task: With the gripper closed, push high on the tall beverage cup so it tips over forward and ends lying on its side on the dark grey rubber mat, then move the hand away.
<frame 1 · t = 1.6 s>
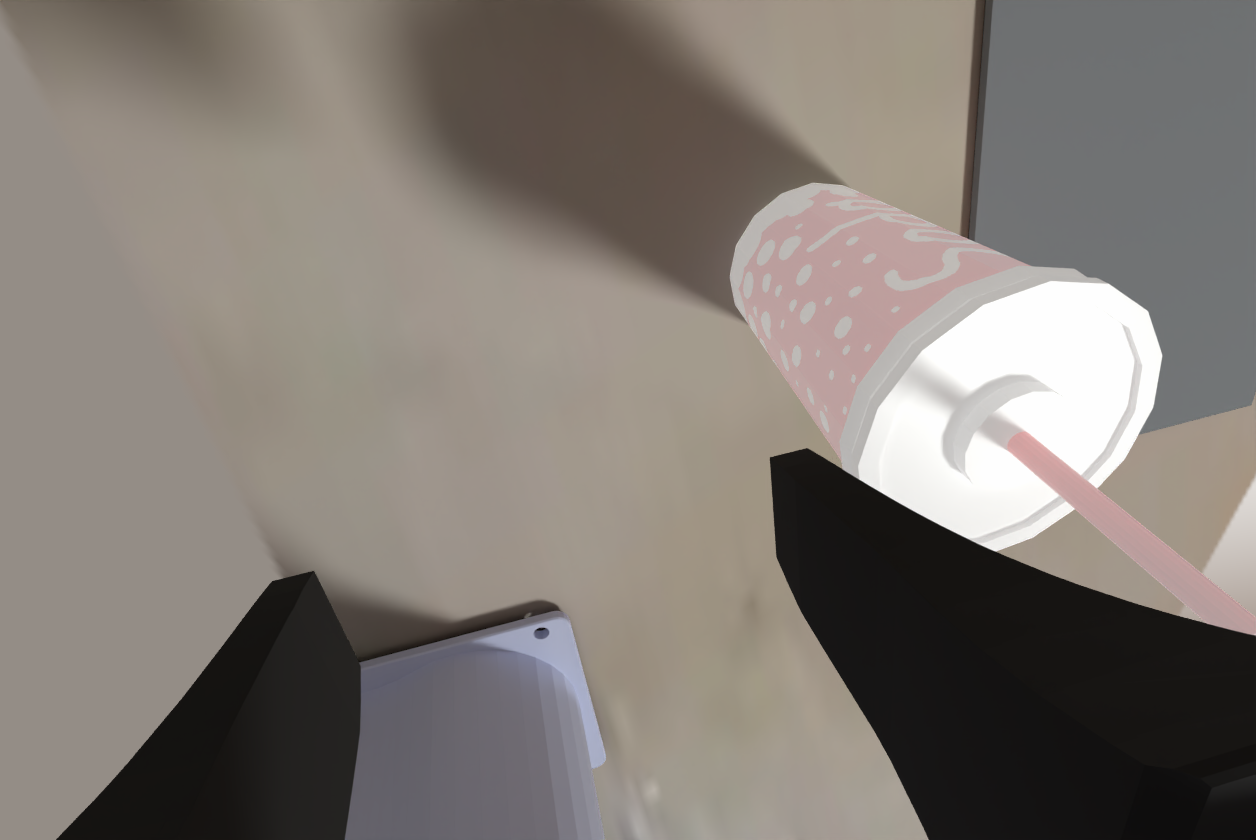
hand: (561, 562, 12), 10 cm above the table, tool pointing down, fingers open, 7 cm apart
rubber mat: (1145, 201, 23), on the table
beverage cup: (804, 262, 22), on the table
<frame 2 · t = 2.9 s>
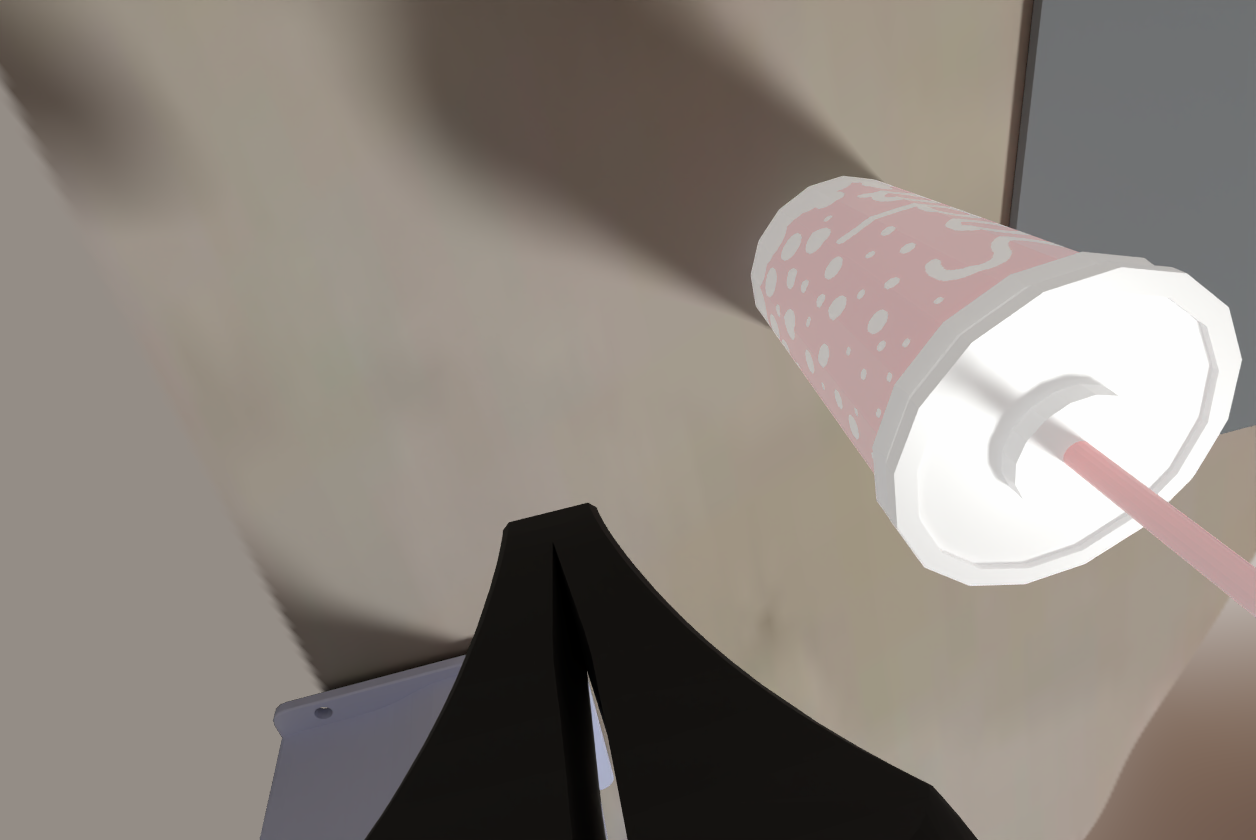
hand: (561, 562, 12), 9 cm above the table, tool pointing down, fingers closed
rubber mat: (1196, 199, 21), on the table
beverage cup: (830, 262, 20), on the table
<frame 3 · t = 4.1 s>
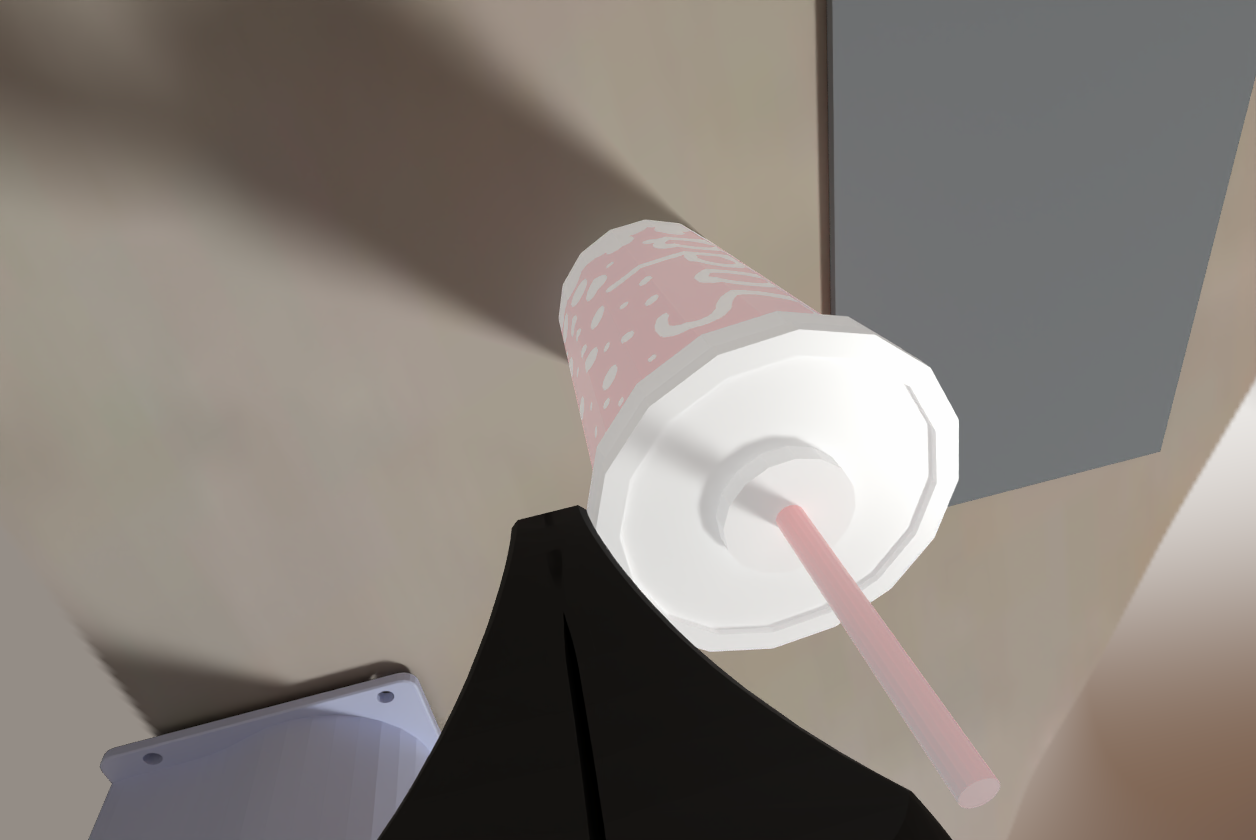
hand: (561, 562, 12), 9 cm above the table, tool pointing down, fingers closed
rubber mat: (1027, 240, 21), on the table
beverage cup: (645, 305, 20), on the table, touching gripper
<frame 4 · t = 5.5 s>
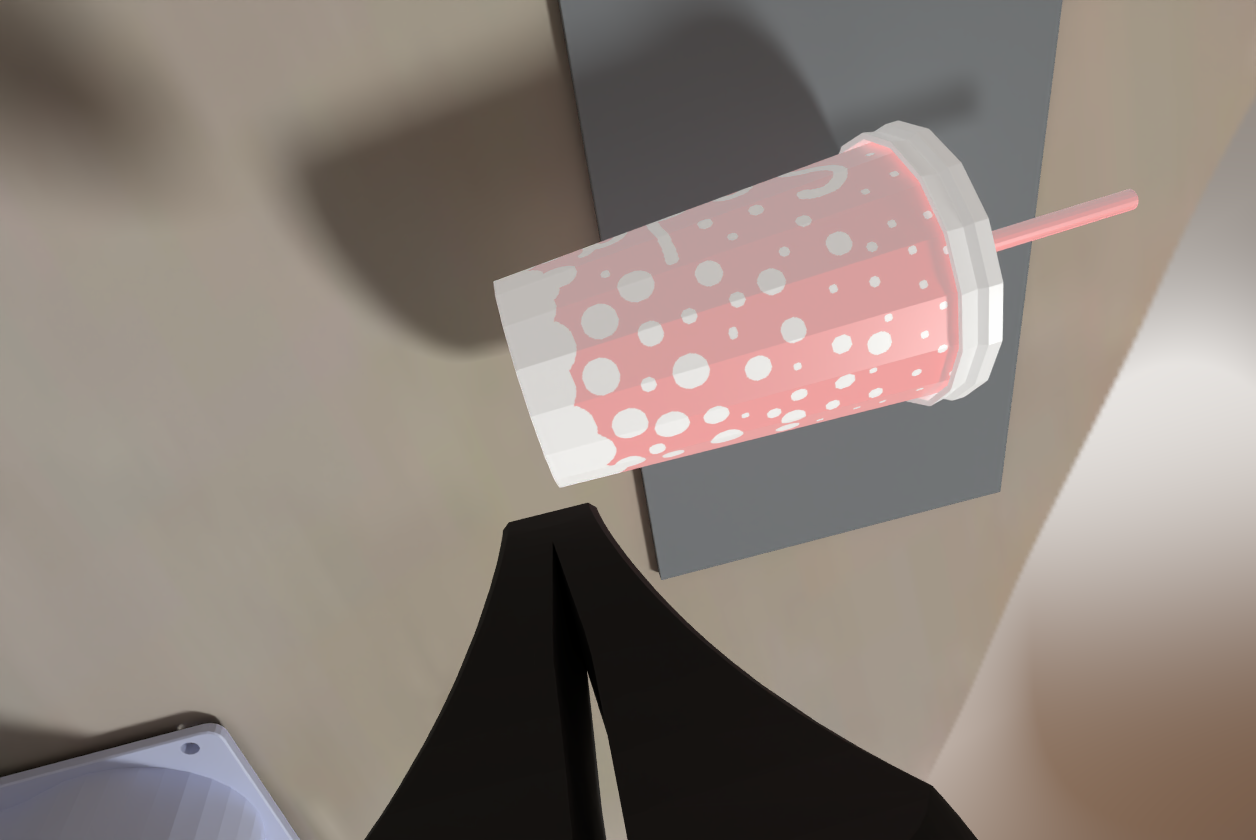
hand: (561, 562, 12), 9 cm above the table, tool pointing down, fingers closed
rubber mat: (826, 283, 20), on the table
beverage cup: (519, 387, 16), point 3 cm above the table, touching rubber mat
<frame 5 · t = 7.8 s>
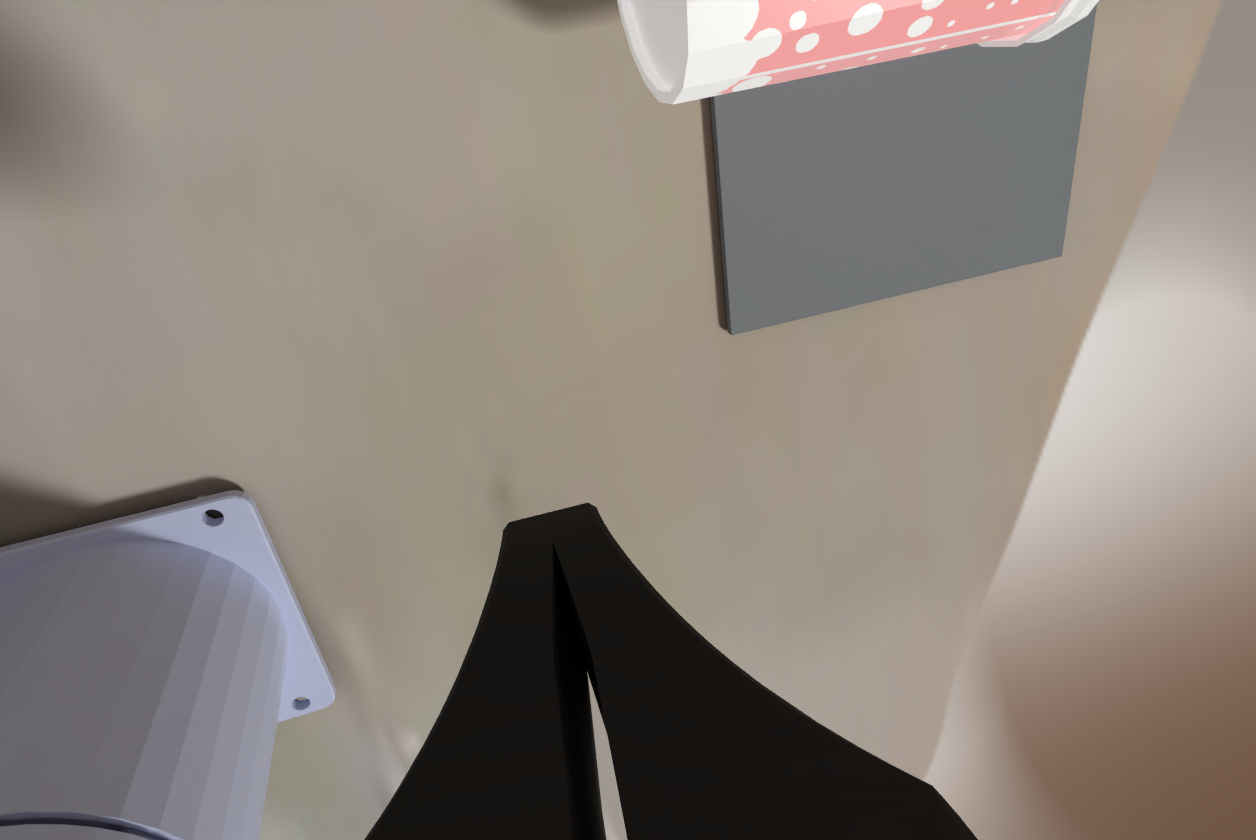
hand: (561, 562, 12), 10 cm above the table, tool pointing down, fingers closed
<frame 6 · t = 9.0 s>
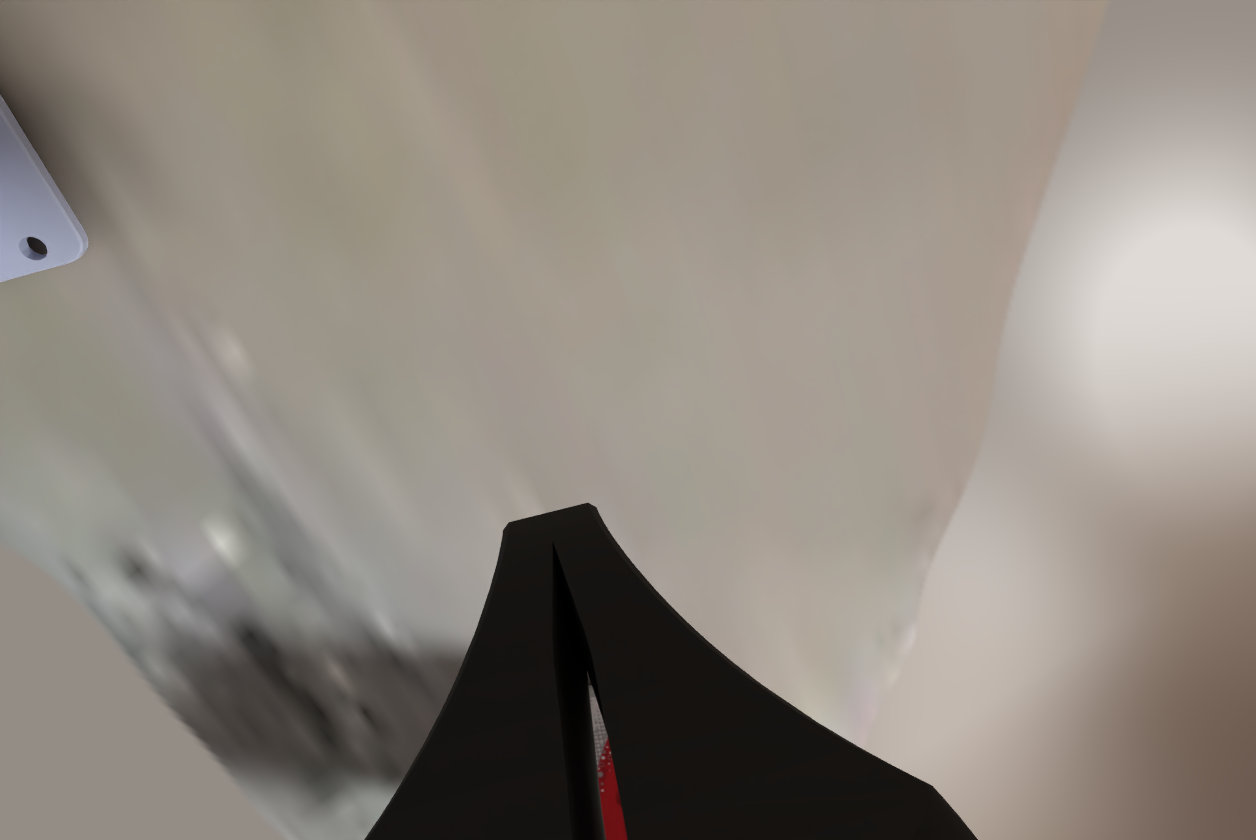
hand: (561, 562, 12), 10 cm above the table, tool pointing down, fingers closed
soda can: (581, 732, 30), on the table
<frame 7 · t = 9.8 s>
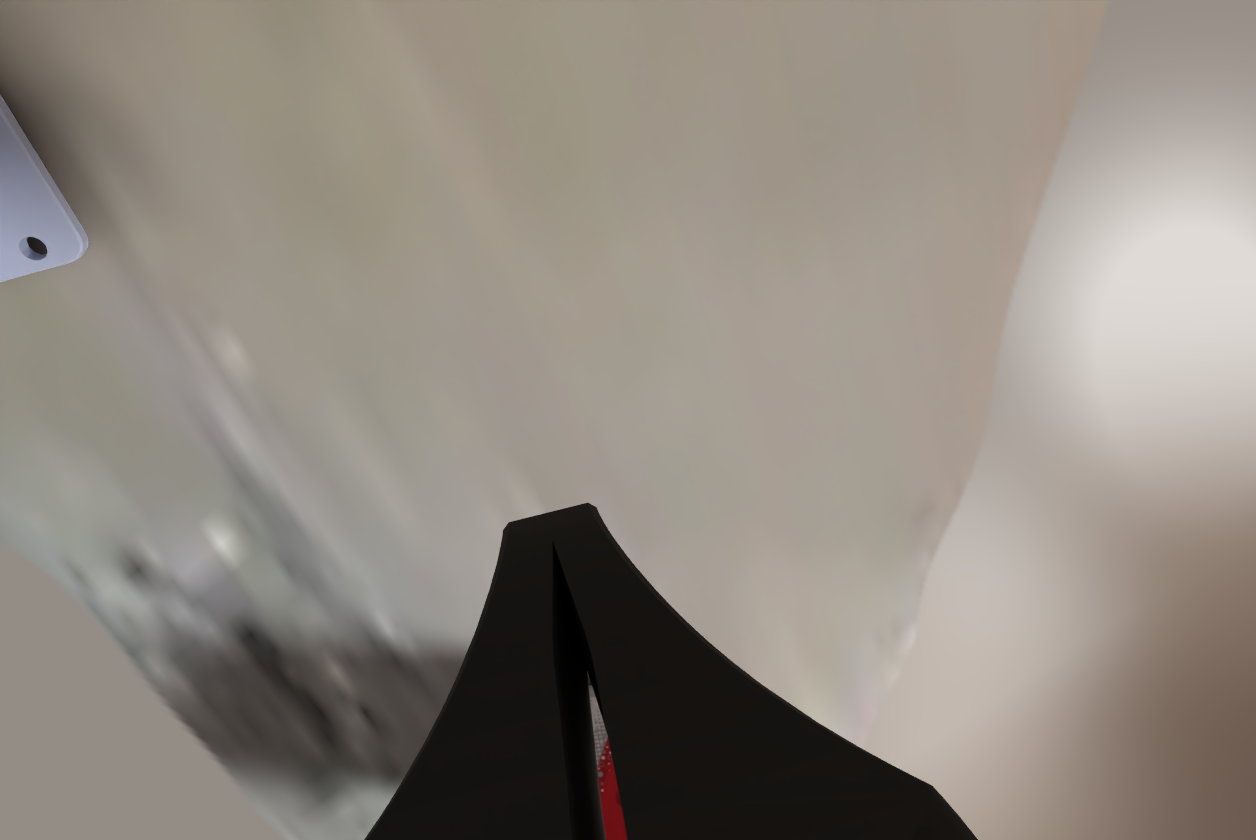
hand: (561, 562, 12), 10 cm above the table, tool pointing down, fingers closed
soda can: (581, 732, 30), on the table
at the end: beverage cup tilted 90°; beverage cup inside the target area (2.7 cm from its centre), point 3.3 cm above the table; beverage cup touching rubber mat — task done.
